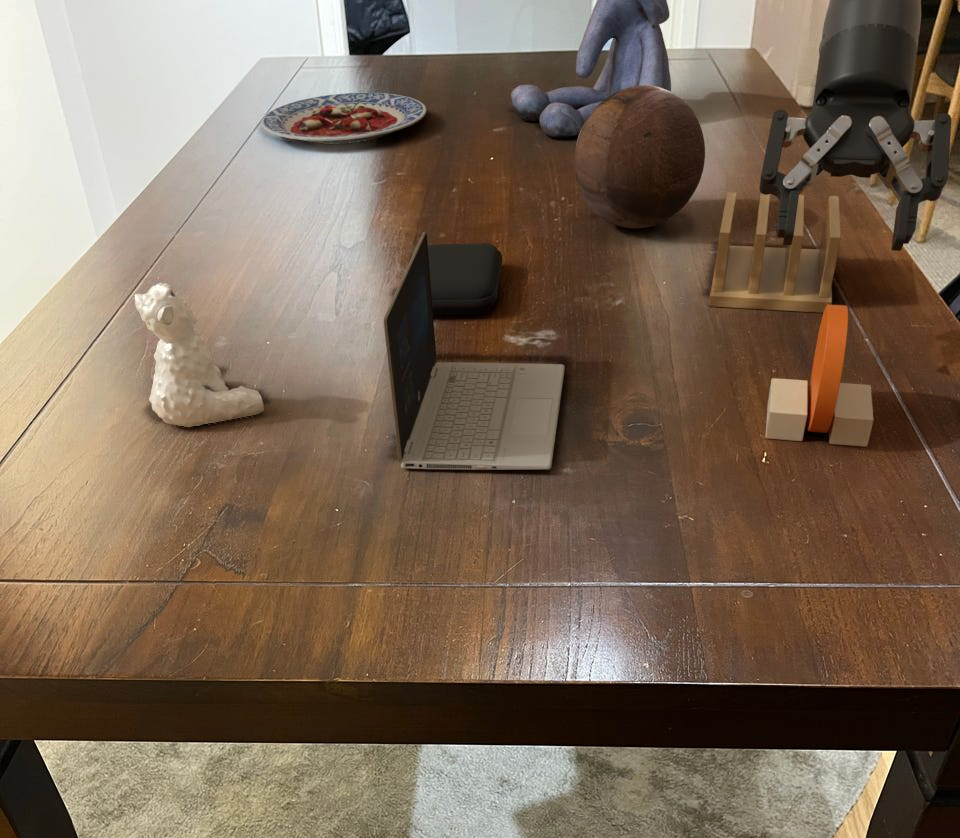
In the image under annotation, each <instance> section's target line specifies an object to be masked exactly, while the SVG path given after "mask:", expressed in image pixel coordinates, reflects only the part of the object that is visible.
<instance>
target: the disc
mask: <svg viewBox="0 0 960 838" xmlns="http://www.w3.org/2000/svg"><path fill="white" fill-rule="evenodd" d="M848 328H849V308H848V306H847V305H843V304H832V305H826V307H825V310H824V313H822V316H821V320H820V325H819V330H818V335H817V339H816V345H815V351H814V356H813V362H812V369H811V374H810V383H809V388H808V412H807V420H806V431H807V432H810V433H823V434H826V433H829V428H830V425H831V422H832V419H833V415H834V411H835V407H836V402H837V397H838V392H839V387H840V383H842V382H841V381H842V375H843V369H844V363H845V356H846V355H845V354H846V349H847V348H846V347H847V340H848V330H849V329H848Z"/></svg>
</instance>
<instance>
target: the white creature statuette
mask: <svg viewBox="0 0 960 838" xmlns="http://www.w3.org/2000/svg"><path fill="white" fill-rule="evenodd" d="M134 304H135V305H134V306H135V309H136V310H137V311H138V313H139V315H140V318H141V320H142V321H143V322H145V325H146V328H147V329H148V331H149V332H152V333H153V334H154V335H155V337H156V338H158V339H159V341H157V343H156V349H155V352H154V354H153V359H154V361H155V366H154V371H155V373H154V374H153V376H152V378H153V380H152V381H153V382H152V385H151V390H150V395H149V398H148V400H149V402H150V404H151V409H152V411H153V412H155V413H156V414H157V416H158V418H160V419H161V420H162V421H163V422H164V423H165V424H168V425H171V426H172V425H173V426H176V425H178V426H188V427H189V426H195V425H201V424H208V423H210V422H211V423H214V424H216V423H215V422H217V421H221V420H229V419H230V420H229V421H232V420H231V419H234V418H239V417H245V416H251V415H256V414H258V415H260V414H261V413H263V412H264V411H265V408H264V401H263V398H262V395H261V394H260V393H259V391H258V390H257V389H252V388H248V387H245V386H243V385H239V387H237V388H236V387H235V388H231V389H229V387H227V385H226V382H225V381H224V380H223V377H222V372H221V369H220V368H219V367H218V366H217V365H215V364H214V359H213V357H212V353H211V351H210V350H209V348H208V347H206V346H205V344H204V341H203V339H202V338H201V337H200V334H199V333H198V331H197V330H196V329H195V325H196V324H197V323H198V318H197V316H196V315H194V313H193V310H191V307H190V306H189V305H188V300H187V298H185V297H183V296H179V295H178V294H177V293H176V292H175V291H174V290H173V286H172V285H170V284H169V283H166V282H165V283H163V282H158V283H157V284H155V285H152V286H151V287H150V288H149V289H148V291H147V292H146V293H135V294H134ZM256 416H257V415H256ZM251 417H252V416H251ZM245 418H246V417H245ZM208 425H209V424H208ZM178 426H177V427H178Z"/></svg>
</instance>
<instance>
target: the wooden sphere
mask: <svg viewBox="0 0 960 838" xmlns="http://www.w3.org/2000/svg"><path fill="white" fill-rule="evenodd" d="M705 162H706V144H705V137H704V133H703V128H702V126H701V124H700V122H699V118H698V116H696V114H695V113H694V110H693V109H692V108H691V107H690V106H689V104H687V102H686V101H685V100H684V99H683V98H682V97H680V96H679V95H677V94H675V93H674V92H672V91H671V92H670V91H668V90H666V89H663V88H660V87H656V86H648V85H641V86H633V87H628V88H625V89H622V90H620V91H618V92H616V93H614V94H612V95H610V96H609V97H607V98H606V99H605V100H603V101H602V102H601V103H600V104H599V105H598V106H597V107H596V108H595V109H594V110H593V111H592V113H591V114H590V115H589V117H588V118H587V120H586V121H585V123H584V125H583V127H582V129H581V131H580V134H579V136H577V141H576V146H575V151H574V173H575V178H576V182H577V186H578V189H579V191H580V193H581V196H582V198H583V200H584V201H585V202H586V203H587V205H588V206H589V208H590V209H591V210H592V211H593V212H594V213H595V214H596V215H597V216H599V217H600V218H601V219H603V220H605V221H606V222H608V223H610V224H612V225H614V226H617V227H621V228H626V229H645V228H650V227H653V226H654V227H655V226H657V225H659V224H662V223H664V222H665V221H668V220H669V219H670V218H673V217H674V216H675V215H676V214H678V213H679V212H680V211H681V210H682V209H683V208H684V207H685V206H686V205H687V204H688V203H689V201H690V200H691V198H692V197H693V195H694V194H695V192H696V191H697V188H698V186H699V184H700V181H701V179H702V175H703V172H704V169H705V168H704V167H705Z"/></svg>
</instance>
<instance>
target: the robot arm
mask: <svg viewBox="0 0 960 838" xmlns="http://www.w3.org/2000/svg"><path fill="white" fill-rule="evenodd" d="M921 20H922V0H829V2H828V7H827V10H826V13H825V18H824V22H823V26H822V27H823V28H822V33H821V39H820V42H819V47H818V55H819V56H818V62H817V63H818V64H817V69H816V70H817V71H816V78H815V79H816V80H815V84H814V85H815V86H814V87H815V88H814V94H813V100H812V101H813V102H812V107H811V111H810V113H809V114H808V115H807V117H806V118H805V117H793V116H789V113H788V112H787V110H785V109H782V108H779V109H776V110H775V111H774V113H773V114H772V118H771V123H770V128H769V133H768V138H767V142H766V148H765V153H764V158H763V163H762V167H761V173H760V180H759V188H758V189H759V192H760V194H764V195H768V194H770V195H772V196H775V197H776V198H777V200H778V202H779V205H778V212H777V213H778V214H777V219H776V227H775V234H776V237H777V239H783V240H782V246H787V245H792V240H793V236H794V229H795V221H796V214H797V206H798V199H799V195H801V193H802V192H803V191H804V190H806V188H807V187H811V185H813V184H814V183H815V181H816V180H817V179H818V178H819V177H820V176H821V175H822V174H823V173H824V172H826V173H828V174H830V177H835V178H837V177H838V178H843V177H846V176H854V177H858V178H864V179H867V178H868V179H870V178H871V176H872V175H875V174H876V175H877V176H878V178H879V179H880V180H881V182H882V183H883V185H884V186H885V187H886V189H888V190H891V192H892V193H893V195H894V197H895V198H896V199H897V200H898V203H897V206H896V209H895V217H894V223H893V224H894V225H893V232H892V240H891V248H890V251H892V252H893V251H894V252H895V251H896V252H901V251H902V250H903V247H904V245H909V243H910V242H911V240H912V238H913V236H914V234H915V232H916V229H917V220H918V213H919V212H918V211H919V204H920V203H922V202H925V201H928V202H935V201H937V200H938V199H939V198H940V196H941V194H942V193H943V190H944V188H945V187H946V184H947V183H948V180H949V167H950V150H951V149H950V148H951V134H952V116H951V115H950V113H947V112H941V113H939V114H937V115H936V117H935V119H923V120H914V118H913V116H912V113H911V102H912V101H911V100H912V92H913V86H914V77H915V69H916V61H917V56H918V55H917V54H918V47H919V46H918V45H919V39H920V38H919V37H920V30H921V24H922V23H921V22H922V21H921ZM799 136H802V138H803V140H804V142H805V143H806V145H807V147H808V150H807V151H806V152H805V153H804V154H803V156H802V157H801V159H800V161H799V162H798V163H797V164H796V165H795V166H794V167H793V168H792V169H791V170H790V171H789V173H787V174H785V173H782V172H780V171H779V166H780V161H781V156H782V150H783V149H786V148H789V147H791V146H792V145H793V143H794V142H795V139H797V137H799ZM910 139H915V140H916V141H917V143H918V148H919V149H920V150H921V151H922V152H926V166H925V177H924V178H920V177H919V175H918V174H917V172H916V171H915V169H914V168H913V167H912V165H911V160H910V157H909V156H908V154H907V152H906V151H905V149H904V147H905V146H906V145H907V144H908V143H909V142H910Z"/></svg>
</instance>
